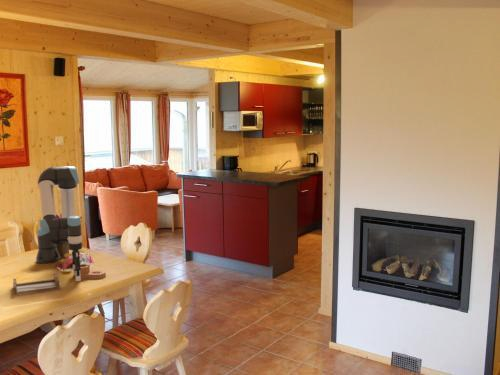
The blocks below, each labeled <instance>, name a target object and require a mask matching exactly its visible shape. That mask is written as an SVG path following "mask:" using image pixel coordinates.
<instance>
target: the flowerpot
mask: <svg viewBox="0 0 500 375" xmlns="http://www.w3.org/2000/svg"><path fill="white" fill-rule="evenodd" d="M56 218H62V214H61V213H60V216H59V215H58V214H57V213H56ZM57 249H58V252H59V254H60V257H65V256H64V254H65V253H70V250H69V243H65V244H57Z"/></svg>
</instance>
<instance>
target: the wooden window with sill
mask: <svg viewBox="0 0 500 375" xmlns="http://www.w3.org/2000/svg"><path fill="white" fill-rule="evenodd" d="M12 283H13V284H12V287H13V288H12V290H13V297H17V296H24V295H32V294H38V293H45V292H52V291H53V292H54V291H60V279H59V276H58V273H54V274H53V278H51V279H44V280H43V279H42V280H36V281H27V282H20V283H17V278H13V280H12Z"/></svg>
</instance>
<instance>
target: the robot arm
mask: <svg viewBox="0 0 500 375" xmlns="http://www.w3.org/2000/svg"><path fill="white" fill-rule="evenodd" d="M79 184H80V178H79V174H78V169H77V167H76V166H74V165H73V166H69V165H67V166H50V167H47V168H46V169H44V170H43V171H42V172H41V173H40V174H39V177H38V179H37V187H38V189H39V191H40V201H41V202H40V204H41V214H42V219H39V228H38V229H37V235H36V236H37V246H38V247H37V248H38V250H37V255H36V257H35V262H36V263H39V264H51V263H56V262H60V260H61V256H60V254H59V252H58V249H57V244H65V243H69V251H71V254H72V262H73V264H74V265H73V271H72V272H73V273H72V274H73V276H74V277H75V276H76V278H75V282H81V280H82V279H81V275H80V270H81V268H80V256H79V255H80V252H79V251H78V250H82V249H83V235H82V219H81V218H82V217H81V216H78V215H76V203H75V202H76V201H75V200H76V197H75V196H76V195H75V194H76V193H75V192H76V191H75V189H76V188H77V186H78V185H79ZM55 186H57V188H58V189H60V207H61V210H60V211H61V213H60V215H61V214H62V218H61V217H60V218H56V214H57V212H56V205H55V194H54V188H55Z"/></svg>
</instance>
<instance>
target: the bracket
mask: <svg viewBox="0 0 500 375" xmlns="http://www.w3.org/2000/svg"><path fill="white" fill-rule="evenodd" d="M80 268H81V270H80V275H81V280H82V279H83V280H84V279H85V280H87V279H88V280H90V279H92V280H93V279H95V280H97V279H99V280H100V279H104V278H106V277H107V275H106V270H90V268H91V267H90V268H89V264H80ZM74 277H75V279H76V276H75V275H74Z"/></svg>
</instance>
